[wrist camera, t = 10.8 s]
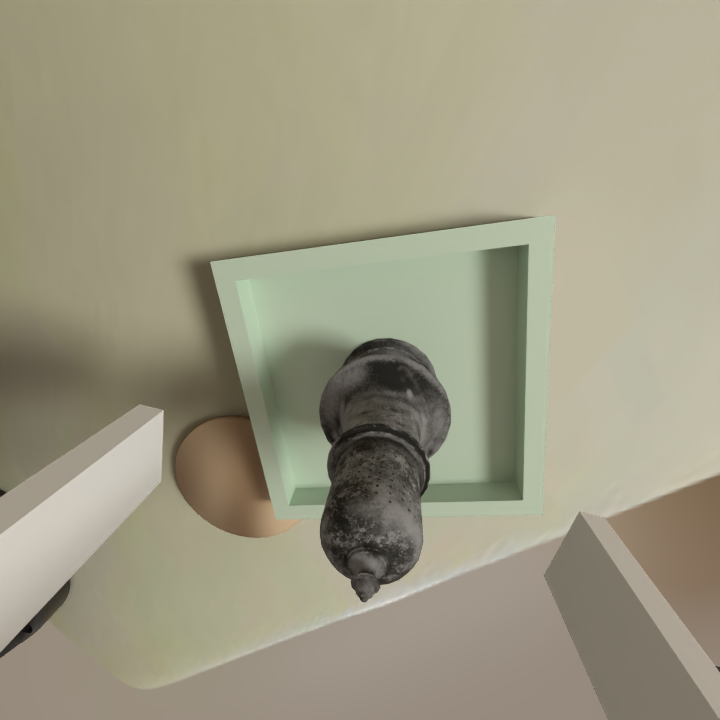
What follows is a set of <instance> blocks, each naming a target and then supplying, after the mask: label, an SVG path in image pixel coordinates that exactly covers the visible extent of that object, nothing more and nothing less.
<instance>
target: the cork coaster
mask: <svg viewBox="0 0 720 720" xmlns="http://www.w3.org/2000/svg"><path fill="white" fill-rule="evenodd" d="M175 473H176V479H177V482H178V485H179V488H180V490H181V492H182V494H183V496H184V498H185V499H186V501H187V502H188V503H189V505H190V506H191V507H192V508H193V509H194V510H195V511H196V512H197V513H198V514H199V515H200V516H201V517H202V518H203V519H205V520H206V521H208V522H209V523H210V524H212V525H214V526H216V527H217V528H219V529H222V530H224V531H226V532H229V533H232V534H235V535H239V536H244V537H254V538H260V537H269V536H274V535H278V534H281V533H283V532H285V531H287V530H289V529H291V528H292V527H294V526H295V525H296V524H297V523H298V522H299V521H300V520H301V519H283V520H276V518H275V514H274V510H273V506H272V502H271V499H270V495H269V491H268V487H267V483H266V479H265V475H264V471H263V467H262V463H261V459H260V456H259V452H258V448H257V444H256V440H255V436H254V432H253V428H252V424H251V420H250V418H249V417H242V416H225V417H218V418H215V419H211V420H209V421H207V422H204V423H203V424H201V425H199V426H198V427H197V428H195V429H194V430H193V431H192V432H191V433H190V434H189V435H188V436H187V437H186V438H185V439H184V441H183V442H182V444H181V445H180V447H179V449H178V452H177V455H176V461H175Z"/></svg>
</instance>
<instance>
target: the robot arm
mask: <svg viewBox="0 0 720 720" xmlns="http://www.w3.org/2000/svg"><path fill="white" fill-rule="evenodd" d="M163 414H164V410H161V409H157V408H153V407H149V406H145V405H141V404H139V405H138V406H136V407H135V408H133V409H132V410H130V411H129V412H127V413H126V414H124V415H123V416H121V417H120V418H118V419H117V420H115V421H114V422H112V423H111V424H109V425H108V426H106V427H105V428H103V429H102V430H100V431H99V432H97V433H96V434H94V435H93V436H91V437H90V438H88V439H87V440H85V441H84V442H82V443H81V444H79V445H78V446H76V447H75V448H73V449H72V450H70V451H69V452H67V453H66V454H64V455H63V456H61V457H60V458H58V459H57V460H55V461H54V462H52V463H51V464H49V465H48V466H46V467H45V468H43V469H42V470H40V471H39V472H37V473H36V474H34V475H33V476H31V477H30V478H28V479H27V480H25V481H24V482H22V483H21V484H19V485H18V486H16V487H15V488H13V489H12V490H10V491H9V492H7V493H6V492H2V491H0V658H1V657H2V656H4V655H5V654H6V653H8V652H9V651H10V650H12V649H13V648H15V647H16V646H17V645H18V644H20V643H22V642H23V641H25V640H26V639H28V638H29V637H30V636H32V635H33V634H34V633H35V632H37V631H38V630H39V629H40V628H41V627H42V626H43V624H44V623H45V622H46V621H47V620H48V619H49V618H50V617H51V616H52V615H53V614H54V613H55V612H56V611H57V610H58V608H59V607H60V606H61V605H62V604H63V603H64V601H65V600H66V598H67V596H68V593H69V589H70V578H71V577H72V576H73V575H74V574H75V573H76V571H77V570H78V569H79V568H80V567H81V566H82V565H83V564H84V563H85V562H86V561H87V560H88V559H89V558H90V557H91V556H92V554H93V553H94V552H95V551H96V550H97V549H98V548H99V547H100V546H101V545H102V544H103V543H104V542H105V541H106V540H107V539H108V537H109V536H110V535H111V534H112V533H113V532H114V531H115V530H116V529H117V528H118V527H119V526H120V525H121V524H122V523H123V522H124V520H125V519H126V518H127V517H128V516H129V515H130V514H131V513H132V512H133V511H134V510H135V509H136V508H137V507H138V506H139V505H140V504H141V502H142V501H143V500H144V499H145V498H146V497H147V496H148V495H149V494H150V493H151V492H152V491H153V490H154V489H155V488H156V487H157V485H158V484H159V483H160V482H161V477H162V446H163ZM544 577H545V579H546V581H547V583H548V586H549V588H550V590H551V592H552V595H553V597H554V599H555V601H556V604H557V606H558V608H559V610H560V613H561V615H562V617H563V619H564V622H565V624H566V626H567V629H568V631H569V633H570V635H571V637H572V640H573V642H574V644H575V646H576V649H577V651H578V653H579V656H580V658H581V660H582V662H583V665H584V667H585V669H586V671H587V674H588V676H589V678H590V680H591V683H592V685H593V687H594V690H595V692H596V694H597V696H598V698H599V701H600V703H601V705H602V707H603V710H604V712H605V714H606V717H607V719H608V720H720V667H717V666H715V665H714V664H713V663H712V661H711V660H710V659H709V657H708V656H707V655H706V653H705V652H704V651H703V649H702V648H701V646H700V645H699V644H698V643H697V641H696V640H695V638H694V637H693V636H692V634H691V633H690V632H689V630H688V629H687V628H686V626H685V625H684V624H683V622H682V621H681V620H680V618H679V617H678V616H677V614H676V613H675V612H674V611H673V609H672V608H671V606H670V605H669V604H668V602H667V601H666V600H665V598H664V597H663V596H662V594H661V593H660V592H659V590H658V589H657V588H656V586H655V585H654V584H653V582H652V581H651V580H650V578H649V577H648V576H647V575H646V573H645V571H644V570H643V569H642V567H641V566H640V565H639V563H638V562H637V561H636V559H635V558H634V557H633V555H632V554H631V553H630V552H629V550H628V549H627V547H626V546H625V545H624V543H623V542H622V541H621V539H620V538H619V537H618V535H617V534H616V533H615V532H614V530H613V529H612V527H611V526H610V525H609V523H608V522H607V521H606V519H605V518H604V517H600V516H596V515H592V514H588V513H584V512H579V513H578V515H577V517H576V519H575V521H574V522H573V524H572V526H571V528H570V530H569V531H568V533H567V535H566V537H565V539H564V540H563V542H562V544H561V546H560V548H559V549H558V551H557V553H556V555H555V557H554V558H553V560H552V562H551V564H550V565H549V567H548V569H547V571H546V572H545V575H544Z"/></svg>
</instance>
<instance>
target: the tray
mask: <svg viewBox="0 0 720 720" xmlns="http://www.w3.org/2000/svg"><path fill="white" fill-rule="evenodd" d="M555 221H556V215H550V216H542V217H534V218H527V219H520V220H512V221H505V222H498V223H490V224H483V225H476V226H468V227H461V228H454V229H446V230H439V231H432V232H424V233H417V234H409V235H402V236H395V237H387V238H380V239H373V240H365V241H358V242H351V243H343V244H336V245H329V246H321V247H314V248H307V249H299V250H292V251H284V252H277V253H270V254H262V255H255V256H248V257H240V258H233V259H226V260H219V261H212V262H210V264H211V268H212V272H213V276H214V280H215V283H216V287H217V291H218V295H219V299H220V303H221V307H222V311H223V315H224V319H225V323H226V326H227V330H228V334H229V338H230V342H231V346H232V350H233V354H234V358H235V362H236V366H237V369H238V373H239V377H240V381H241V385H242V389H243V393H244V397H245V401H246V405H247V409H248V413H249V416H250V420H251V424H252V428H253V432H254V436H255V440H256V444H257V448H258V452H259V456H260V459H261V463H262V467H263V471H264V475H265V479H266V483H267V487H268V491H269V495H270V499H271V502H272V506H273V510H274V514H275V518H276V520H283V519H321V518H322V514H323V511H324V507H325V504H326V500H327V497H328V494H329V490H330V487H331V481H330V479H329V477H328V471H327V460H328V454H329V451H330V449H331V447H332V445H331V444H330V443H329V442H328V440H327V439H326V436H325V434H324V432H323V429H322V427H321V423H320V415H319V407H320V400H321V395H322V393H323V391H324V389H325V387H326V385H327V383H328V381H329V380H330V378H331V377H332V376H333V375H334V374H335V373H336V372H337V371H338V370H339V369H340V368H341V367H342V366H343V364H344V362H345V360H346V358H347V357H348V356H349V355H350V354H351V353H352V352H353V350H354V349H356V348H358V347H359V346H361V345H362V344H364V343H366V342H369V341H372V340H375V339H384V338H393V339H398V340H402V341H406V342H408V343H410V344H412V345H414V346H416V347H417V348H418V349H419V350H421V351H422V352H423V353H424V354H425V355H426V356H427V357H428V359H429V360H430V362H431V364H432V365H433V367H434V370H435V374H436V377H437V379H438V380H439V382H440V383H441V385H442V386H443V388H444V389H445V391H446V393H447V397H448V400H449V403H450V406H451V425H450V428H449V432H448V435H447V438H446V440H445V441H444V443H443V444H442V446H441V447H440V449H439V450H438V452H436V453H435V454H434V455H433V456H432V457H431V458H429V459H428V460H429V463H430V481H429V484H428V488H427V490H426V491H425V493H424V494H423V496H422V497H421V512H422V517H464V516H525V515H543V493H544V471H545V448H546V425H547V403H548V380H549V357H550V335H551V312H552V289H553V267H554V244H555Z"/></svg>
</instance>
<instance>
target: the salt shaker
mask: <svg viewBox="0 0 720 720" xmlns="http://www.w3.org/2000/svg"><path fill="white" fill-rule="evenodd" d="M319 415H320V423H321V427H322V429H323V432H324V434H325V436H326V439H327V440H328V442H329V443H330V444H331V445H332V447H331V449H330V451H329V454H328V460H327V471H328V477H329V479H330V481H331V487H330V490H329V494H328V497H327V500H326V504H325V507H324V511H323V514H322V518H321V524H320V539H321V545H322V548H323V550H324V552H325V554H326V556H327V558H328V559H329V561H330V563H331V564H332V565H333V566H334V567H335V568H336V570H337V571H339V572H340V573H341V574H343V575H344V576H345V577H347V578H349V579H351V586H352V588H353V589H354V590H355V591H356V594H357V595H358V597H359V598H360V600H361V601H362V602H367V600H368V599H370V598H372V596H373V595H374V594H375V593H377V592H378V590H379V589H380V585H383V584H389V583H392V582H394V581H397V580H399V579H400V578H402V577H403V576H405V575H406V574H407V573H408V572H409V571H410V570H411V569H412V568H413V567H414V565H415V564H416V563H417V561H418V559H419V556H420V553H421V549H422V545H423V528H422V512H421V497H422V496H423V494H424V493H425V491H426V490H427V488H428V484H429V481H430V463H429V460H428V459H429V458H431V457H432V456H433V455H434V454H435V453H436V452H438V450H439V449H440V447H441V446H442V444H443V443H444V441H445V440H446V438H447V435H448V432H449V428H450V425H451V406H450V403H449V400H448V397H447V393H446V391H445V389H444V388H443V386H442V385H441V383H440V382H439V380H438V379H437V377H436V374H435V370H434V367H433V365H432V364H431V362H430V360H429V359H428V357H427V356H426V355H425V354H424V353H423V352H422V351H421V350H419V349H418V348H417V347H416V346H414V345H412V344H410V343H408V342H406V341H402V340H398V339H393V338H384V339H375V340H372V341H369V342H366V343H364V344H362V345H361V346H359V347H358V348H356V349H354V350H353V352H352V353H351V354H350V355H349V356H348V357H347V358H346V360H345V362H344V364H343V366H342V367H341V368H340V369H339V370H338V371H337V372H336V373H335V374H334V375H333V376H332V377H331V378H330V380H329V381H328V383H327V385H326V387H325V389H324V391H323V393H322V395H321V400H320V407H319Z"/></svg>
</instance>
